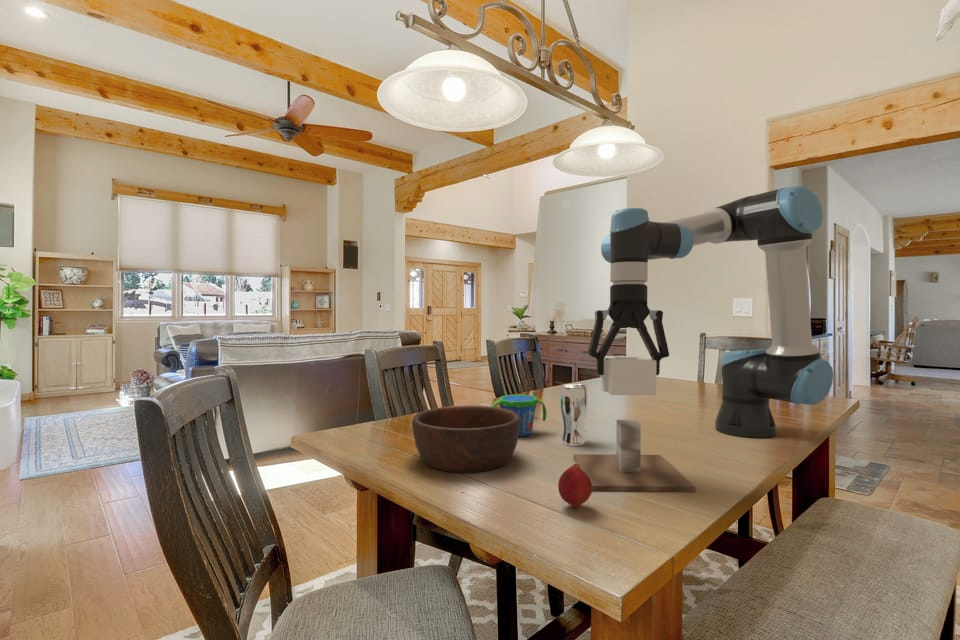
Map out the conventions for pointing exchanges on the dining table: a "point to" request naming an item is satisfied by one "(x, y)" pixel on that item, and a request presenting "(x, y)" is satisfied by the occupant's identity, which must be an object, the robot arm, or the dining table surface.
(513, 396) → the snack cup
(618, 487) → the post base
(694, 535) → the dining table surface
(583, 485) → the onion
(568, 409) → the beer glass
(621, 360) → the white square sleeve
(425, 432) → the wooden bowl
